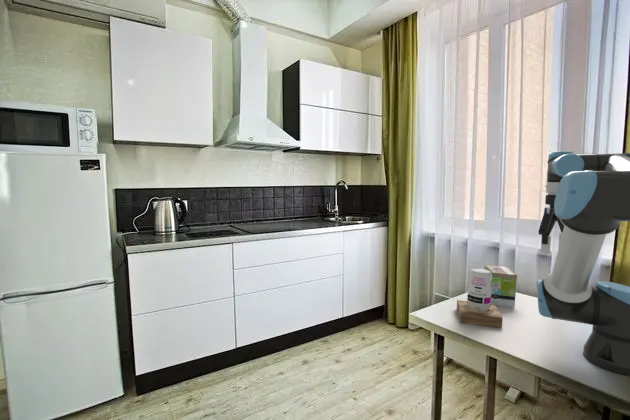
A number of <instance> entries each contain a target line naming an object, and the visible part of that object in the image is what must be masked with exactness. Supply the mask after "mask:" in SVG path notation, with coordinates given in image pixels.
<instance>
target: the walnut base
mask: <svg viewBox="0 0 630 420" xmlns="http://www.w3.org/2000/svg"><path fill="white" fill-rule="evenodd" d="M456 312H457V315H458V319H459V322H460V324H466V325H476V326H481V327H490V328H499V329H503V318H504V317H503V316H502V314H501V313H500V311H499V309H498V308H497V306H495V305H494V304H490V309H489V310H488V311H477V310H473V309H471V308H469V306H468V305H467V300H460V299H457V300H456Z"/></svg>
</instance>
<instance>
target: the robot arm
mask: <svg viewBox="0 0 630 420" xmlns="http://www.w3.org/2000/svg"><path fill="white" fill-rule="evenodd" d="M547 157H548V159H547V162H546V163H547V174H546V177H547V178H546V185H544V186H545V189H546V190H545V192H546V195H545V197H544V198H545V199H544V201H545V203H544V204H545V205H548V206H549V207H544V211H543V216H542V219H541V222H540V225H539V228H538V235H540V236H541V243H540V253H542V254H549V255H550V254H551V243H552V235H551V233H552V231H553V228H554V227H555V224H556V222H557V224H558V227H559V230H560V232H559V234H558V235H559V236H558V245H557V246H558V250H557V253H556V257H555V260H554V261H555V262H554V264H553V269H552V271H551V272H550V273H548V274H546V276H544V279H543V278H542V279H537V280H536V293H537V297H536V298H537V305H538V306H537V307H538V313H539V315H540V316H542V317H545V318H549V319H550V318H551V320H552V319H553V320H559V321H567V322H573V323H579V324H585V325H591V326H592V330H591V333H590V335H589V336H588V338H587V340H586V341H585V343H584V345H583V350H582V356H584V358H585V359H586V360H588V361H589V362H590V363H592V364H594V365H596V366H598V367H600V368H602V369H605V370H607V371H611V372H613V373H617V374H621V375H623V376H630V286H627V285H624V284H621V283H615V282H612V281H606V280H601V281H600V280H597V281H596V283H595V285H591V284H590V280H591V277H592V274H593V271H594V269H595V265H596V264H597V260H598V259H599V255H600V253H601V250H602V247H603V245H604V242H605V239H606V237H607V235H609V234H611V233H614V232H615V231H616V230H617V229H618V228H619V226H620V223H621V222H625V223H626V222H629V223H630V153H629V152H623V153H591V154H588V153H587V154H585V153H584V154H575V153H574V151H570V150H559V151H551V152H549V154H548V156H547Z"/></svg>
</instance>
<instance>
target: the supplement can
mask: <svg viewBox="0 0 630 420" xmlns="http://www.w3.org/2000/svg"><path fill="white" fill-rule="evenodd" d="M467 279H468V283H467V297H466V298H467V299H466V301H467V305H468V306H469V308H471V309H473V310H477V311H488V310H489V309H490V304H491V288H492V274H491V272H490V271H489V270H486V269H484V268H480V267H473V268H470V270H469V271H468V278H467Z"/></svg>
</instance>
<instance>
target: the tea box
mask: <svg viewBox="0 0 630 420" xmlns="http://www.w3.org/2000/svg"><path fill="white" fill-rule="evenodd" d="M483 269H486V270H489V271H490V272H491V274H492V288H491V304H494V305H495V306H496V307H503V308H513V309H514V308H515V307H516V306H515V305H516V294H517V282H518V281H517V280H518V279H517V278H518V275H517V273H515V272H514V271H513V270H512V269H510V268H509V267H507V266H501V265H489V264H488V265H487V264H485V265H484V268H483Z"/></svg>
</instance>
